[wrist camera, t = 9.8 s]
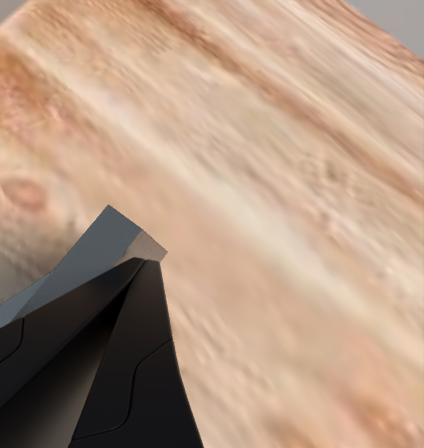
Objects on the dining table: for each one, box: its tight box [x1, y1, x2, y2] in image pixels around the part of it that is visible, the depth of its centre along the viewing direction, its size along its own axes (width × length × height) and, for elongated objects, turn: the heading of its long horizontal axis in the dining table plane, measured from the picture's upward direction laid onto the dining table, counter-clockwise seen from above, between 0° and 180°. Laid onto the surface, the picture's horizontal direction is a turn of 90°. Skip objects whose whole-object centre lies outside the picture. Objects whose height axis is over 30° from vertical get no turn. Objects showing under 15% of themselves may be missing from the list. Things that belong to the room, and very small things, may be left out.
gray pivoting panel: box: [11, 204, 168, 322], centre depth 10 cm, size 13×3×7 cm, turn 144°
